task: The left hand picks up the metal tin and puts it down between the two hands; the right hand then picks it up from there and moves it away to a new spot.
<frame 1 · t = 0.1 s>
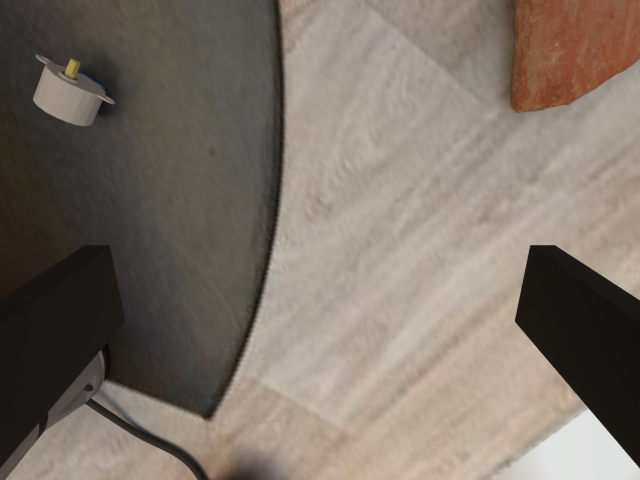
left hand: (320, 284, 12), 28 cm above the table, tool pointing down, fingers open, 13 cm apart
ceramic shard: (589, 14, 34), on the table
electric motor: (92, 87, 36), on the table
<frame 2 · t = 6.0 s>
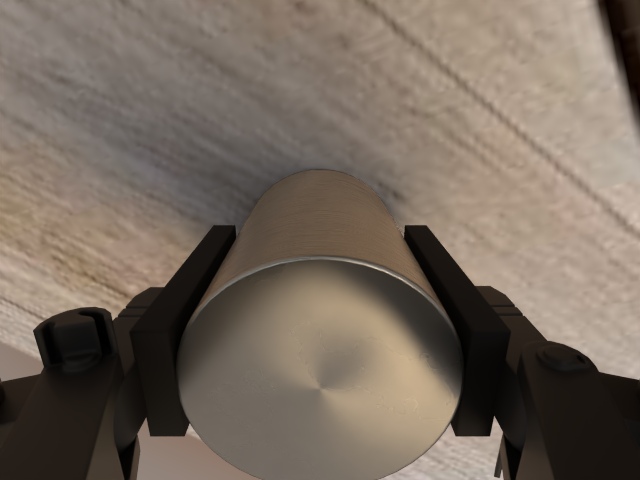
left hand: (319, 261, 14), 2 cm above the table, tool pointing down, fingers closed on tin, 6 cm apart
tin: (320, 242, 16), on the table, touching left hand
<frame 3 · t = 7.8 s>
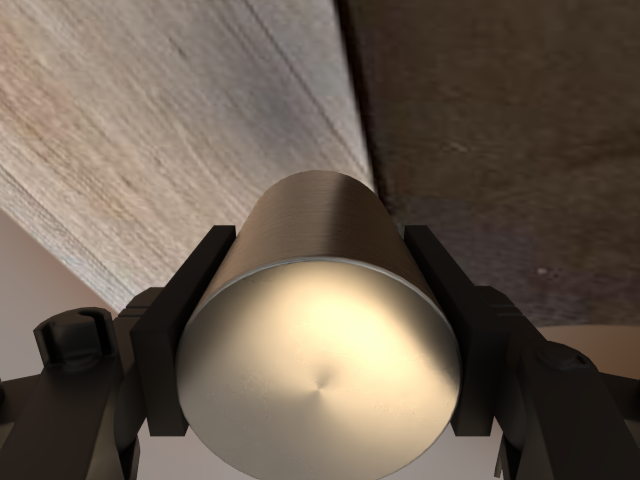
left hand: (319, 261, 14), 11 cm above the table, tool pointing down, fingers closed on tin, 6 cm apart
tin: (319, 242, 16), point 9 cm above the table, touching left hand
when the left hand's fingers open (4 cm above the table, at t = 10.0 s): tin drops 2 cm, on the table.
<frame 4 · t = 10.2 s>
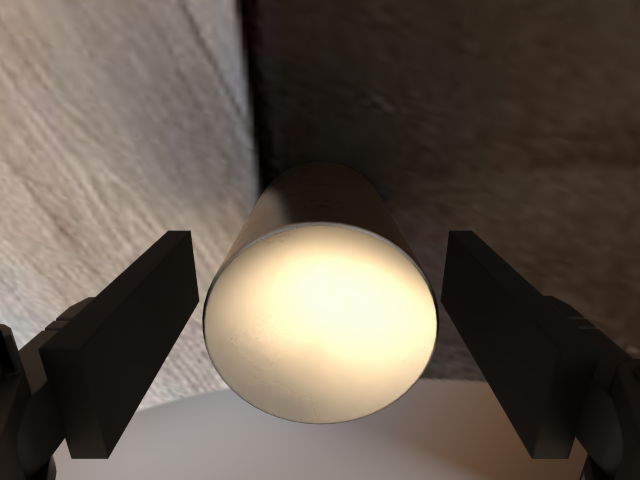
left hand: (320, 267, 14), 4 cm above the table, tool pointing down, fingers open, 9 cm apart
tin: (320, 227, 18), on the table
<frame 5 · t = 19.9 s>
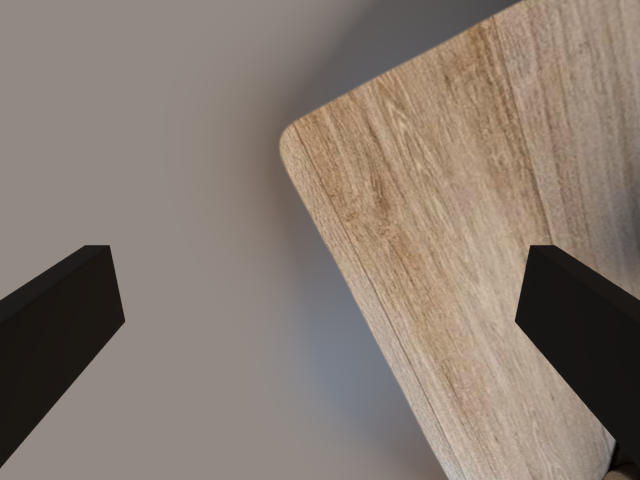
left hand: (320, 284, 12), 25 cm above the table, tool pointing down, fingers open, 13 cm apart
tin: (625, 479, 51), on the table, touching right hand
when the right hand's fingers open (4 cm above the table, at t = 36.7 s): tin drops 2 cm, on the table.
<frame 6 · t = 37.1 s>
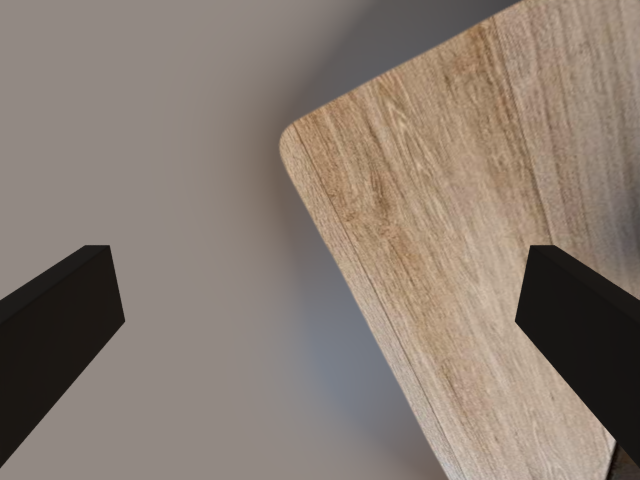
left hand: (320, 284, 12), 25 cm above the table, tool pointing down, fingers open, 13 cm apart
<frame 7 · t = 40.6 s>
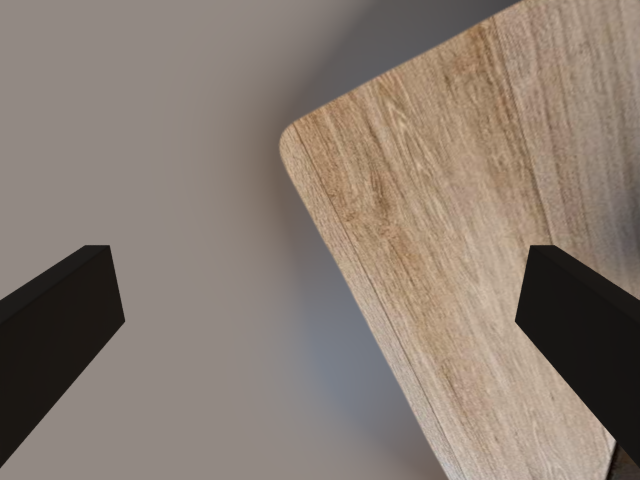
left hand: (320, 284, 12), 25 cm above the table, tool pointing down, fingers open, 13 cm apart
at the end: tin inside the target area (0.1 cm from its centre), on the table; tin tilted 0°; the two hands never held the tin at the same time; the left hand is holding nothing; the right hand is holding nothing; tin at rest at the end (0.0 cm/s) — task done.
